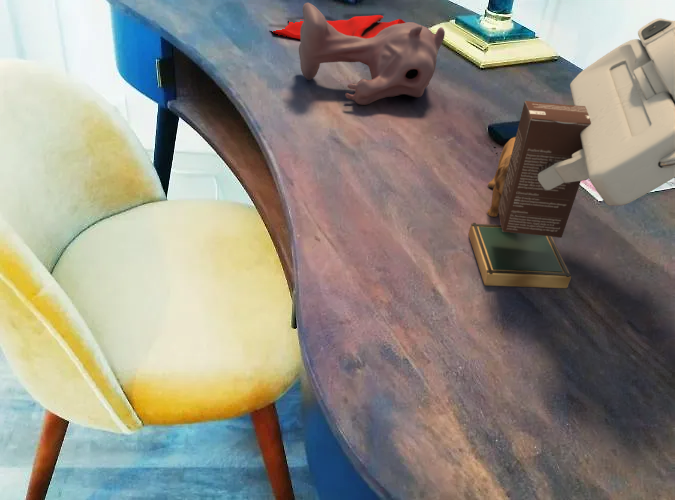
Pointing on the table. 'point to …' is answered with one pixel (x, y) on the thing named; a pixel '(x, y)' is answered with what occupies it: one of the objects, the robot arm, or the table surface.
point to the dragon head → (372, 56)
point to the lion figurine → (500, 177)
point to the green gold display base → (517, 258)
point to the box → (533, 152)
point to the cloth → (346, 27)
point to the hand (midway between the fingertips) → (539, 164)
